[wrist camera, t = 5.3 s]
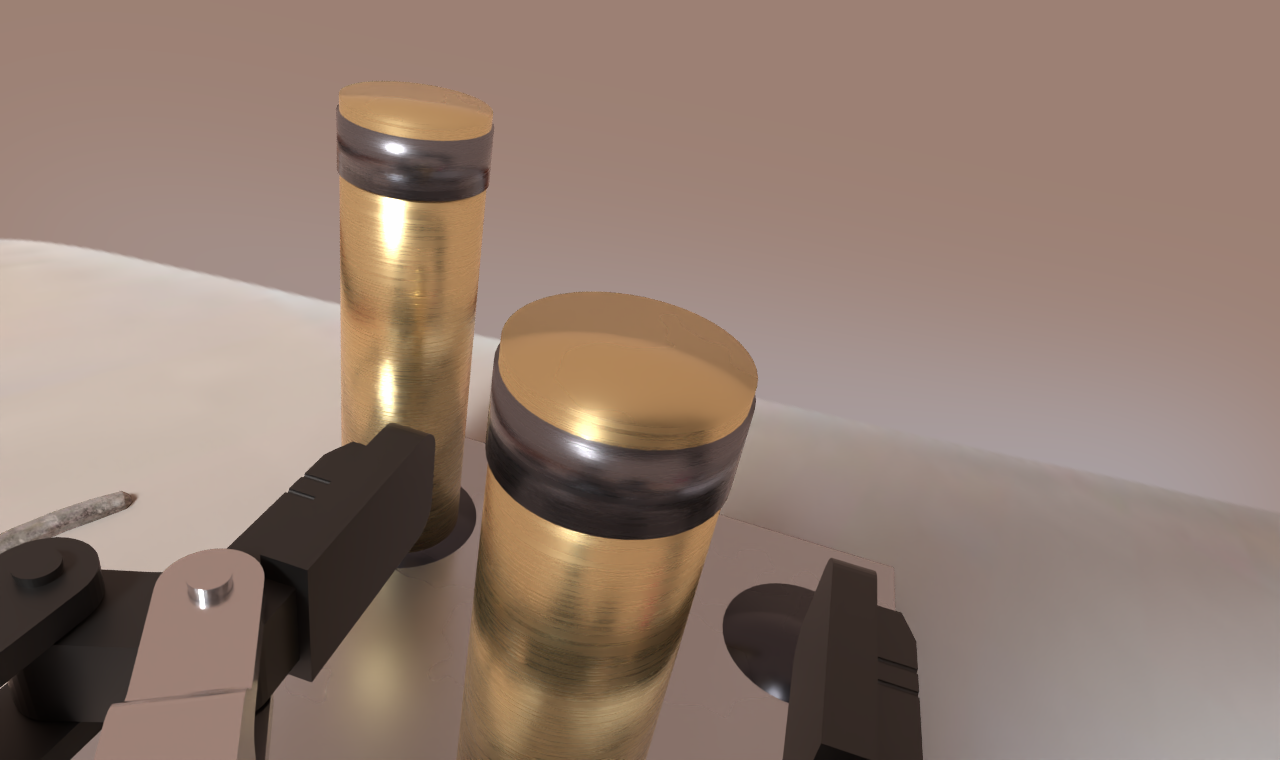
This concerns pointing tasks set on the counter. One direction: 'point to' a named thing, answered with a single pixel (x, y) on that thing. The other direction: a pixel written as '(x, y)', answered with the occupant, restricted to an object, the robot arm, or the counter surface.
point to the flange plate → (439, 637)
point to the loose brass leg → (596, 520)
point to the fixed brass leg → (411, 268)
